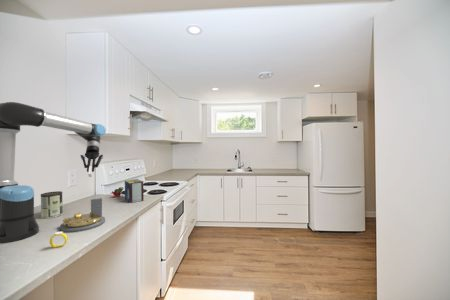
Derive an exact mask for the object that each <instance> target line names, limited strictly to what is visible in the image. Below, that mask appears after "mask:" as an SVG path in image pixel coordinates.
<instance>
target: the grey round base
mask: <svg viewBox="0 0 450 300" xmlns="http://www.w3.org/2000/svg"><path fill="white" fill-rule="evenodd" d="M105 222H106V217H105V216H103V215H102V219H101V220H100V221H99V222H97V223H94V224H91V225H87V226H83V227H74V228H69V227H65V226H64V222H62V223H61V224H60V225H59V232H63V233H77V232H78V233H79V232H83V231H84V232H85V231H88V230H89V231H90V230H92V229H95V228H98V227H100V226H102V225H103V224H105Z"/></svg>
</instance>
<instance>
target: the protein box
mask: <svg viewBox="0 0 450 300" xmlns="http://www.w3.org/2000/svg"><path fill="white" fill-rule="evenodd" d="M144 194H145V193H144V181H143V180H140V179H139V178H138V179H130V180H129V179H128V180H124V200H126V202H128V203H129V204H131V203H137V202H139V203H140V202H143V201H144V197H145V196H144Z"/></svg>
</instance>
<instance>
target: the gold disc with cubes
mask: <svg viewBox="0 0 450 300" xmlns="http://www.w3.org/2000/svg"><path fill="white" fill-rule="evenodd" d="M102 216H103V198H102V197H100V198H91V199H90V212H89V213H85V214H82V213H80V212H78V213H74V215H73V216H71V217H64V218H63V219H62V223H64V226H65V227H69V228H74V227H83V226H87V225H91V224H94V223H97V222H99V221H100V220H101V219H102Z"/></svg>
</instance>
